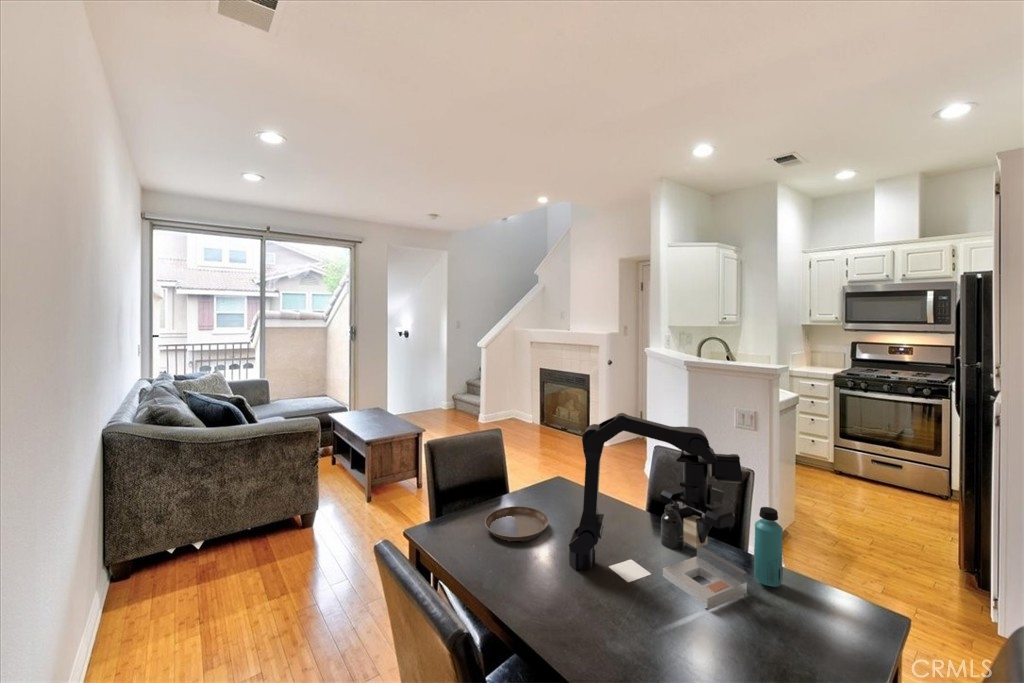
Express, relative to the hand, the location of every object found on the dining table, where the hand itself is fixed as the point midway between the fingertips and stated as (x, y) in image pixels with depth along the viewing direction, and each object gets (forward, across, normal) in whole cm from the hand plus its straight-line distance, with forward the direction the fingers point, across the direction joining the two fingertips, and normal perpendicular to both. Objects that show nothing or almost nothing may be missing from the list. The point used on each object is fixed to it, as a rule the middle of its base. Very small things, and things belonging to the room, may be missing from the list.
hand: (695, 538), depth 113 cm
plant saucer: (+12, +48, +27) cm, 56 cm away
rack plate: (+12, -1, -2) cm, 13 cm away
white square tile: (+12, +12, +11) cm, 20 cm away
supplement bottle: (+13, +17, -10) cm, 23 cm away
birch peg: (+1, 0, 0) cm, 1 cm away
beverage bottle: (+13, -8, -17) cm, 23 cm away
